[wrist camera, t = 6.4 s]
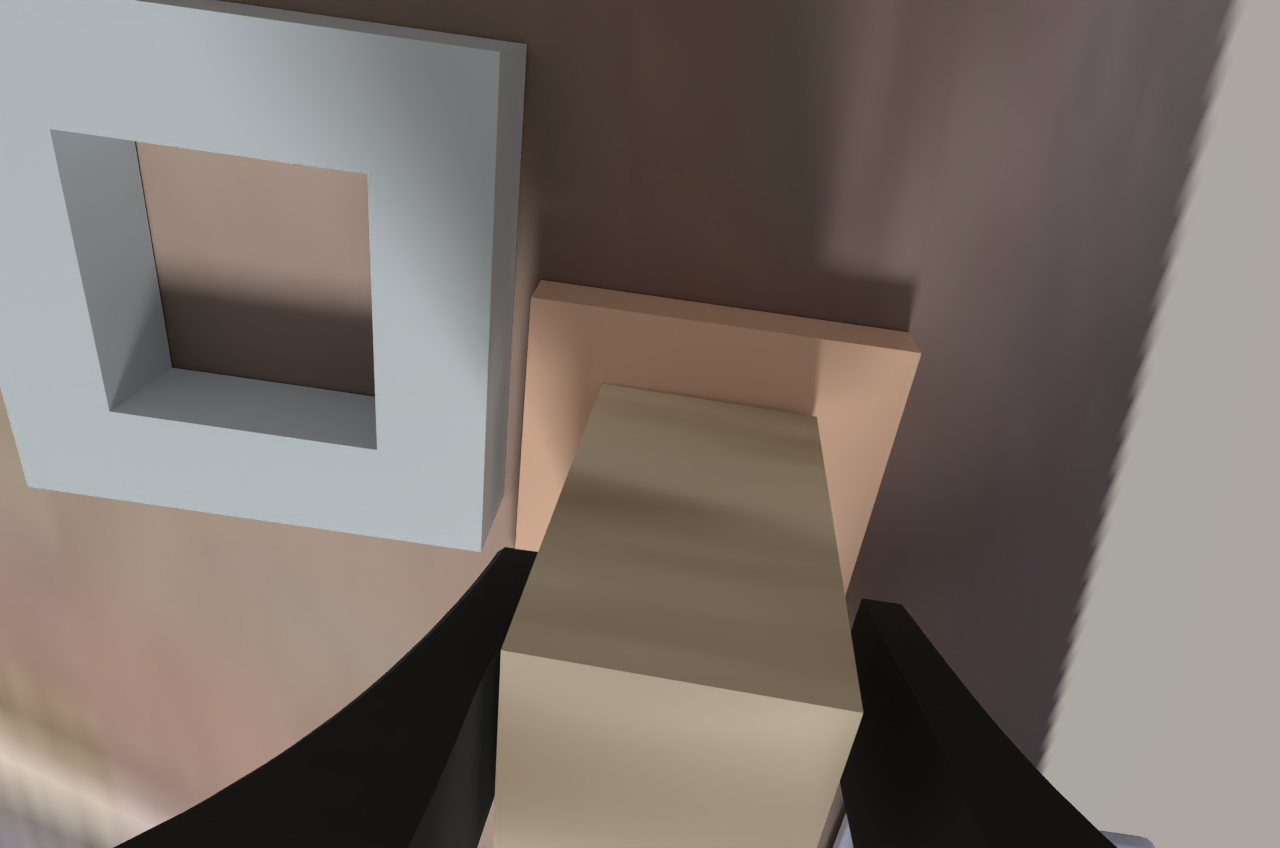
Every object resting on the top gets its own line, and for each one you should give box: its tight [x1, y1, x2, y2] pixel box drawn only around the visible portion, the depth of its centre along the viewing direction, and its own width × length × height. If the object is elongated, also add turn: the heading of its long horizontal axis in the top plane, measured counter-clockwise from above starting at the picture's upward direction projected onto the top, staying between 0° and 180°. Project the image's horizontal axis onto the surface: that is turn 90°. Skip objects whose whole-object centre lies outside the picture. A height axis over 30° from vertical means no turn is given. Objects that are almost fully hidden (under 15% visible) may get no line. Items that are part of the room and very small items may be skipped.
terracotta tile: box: [515, 280, 921, 595], centre depth 17 cm, size 7×7×1 cm
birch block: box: [493, 383, 863, 848], centre depth 13 cm, size 4×4×7 cm
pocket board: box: [0, 0, 527, 552], centre depth 15 cm, size 9×9×2 cm
